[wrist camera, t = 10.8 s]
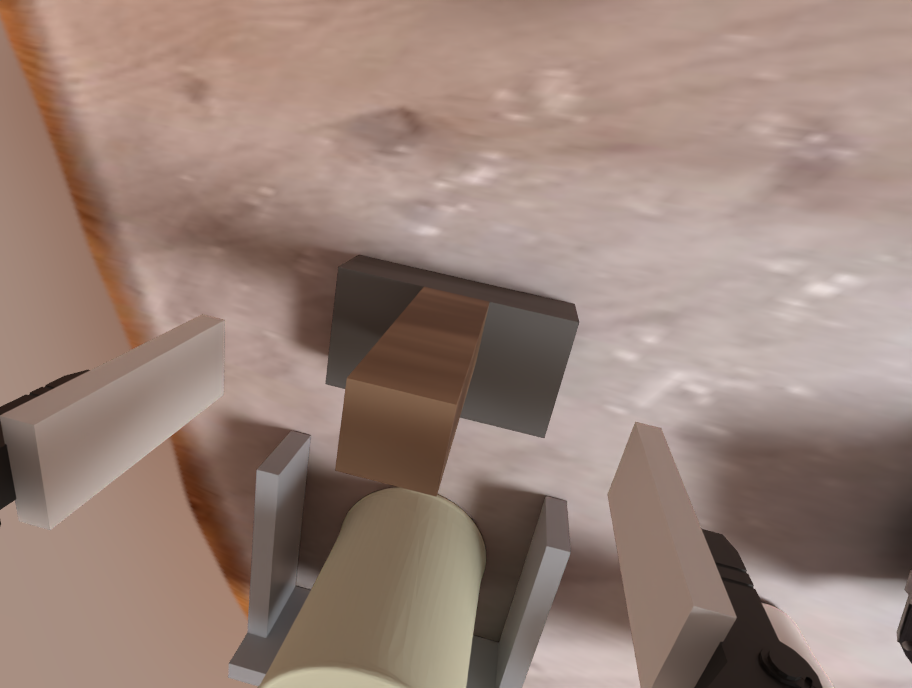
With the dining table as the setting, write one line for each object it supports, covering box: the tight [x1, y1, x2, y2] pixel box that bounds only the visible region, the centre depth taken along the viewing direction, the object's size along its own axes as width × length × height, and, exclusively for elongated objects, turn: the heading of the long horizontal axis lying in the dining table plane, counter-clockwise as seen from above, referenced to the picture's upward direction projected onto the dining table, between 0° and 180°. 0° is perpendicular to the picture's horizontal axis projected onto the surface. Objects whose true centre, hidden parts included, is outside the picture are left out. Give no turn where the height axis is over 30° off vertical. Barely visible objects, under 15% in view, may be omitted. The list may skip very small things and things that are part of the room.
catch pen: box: [228, 431, 571, 688], centre depth 29 cm, size 13×16×6 cm
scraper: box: [326, 255, 579, 497], centre depth 21 cm, size 6×11×13 cm, turn 79°
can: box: [258, 487, 486, 688], centre depth 26 cm, size 9×9×12 cm
